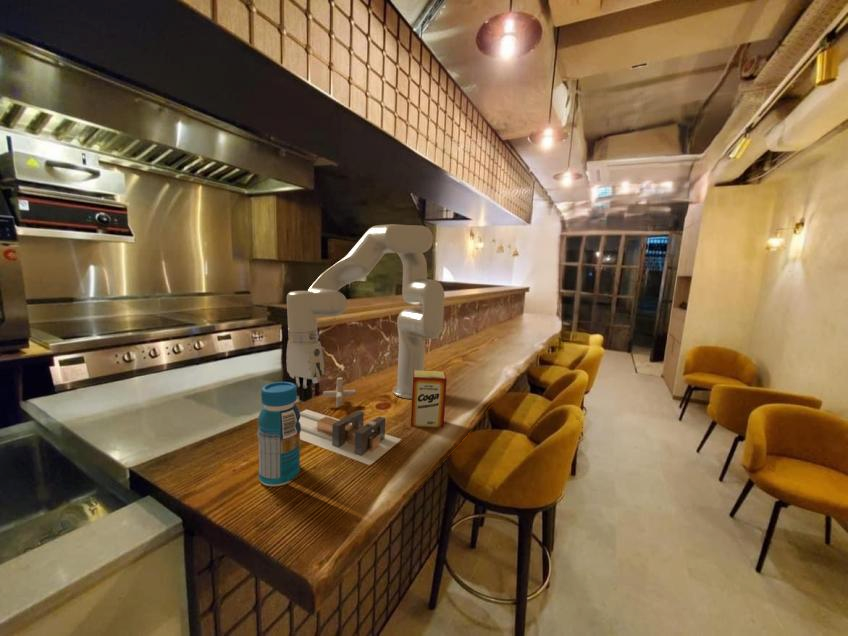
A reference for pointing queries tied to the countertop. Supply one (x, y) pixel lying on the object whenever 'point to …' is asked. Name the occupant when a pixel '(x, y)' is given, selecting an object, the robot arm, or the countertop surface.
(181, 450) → the countertop surface
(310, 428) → the white rail board
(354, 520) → the countertop surface
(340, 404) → the pipe connector
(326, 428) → the bar
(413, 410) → the baking soda box
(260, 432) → the beverage bottle
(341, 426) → the rear collar
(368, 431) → the front collar
